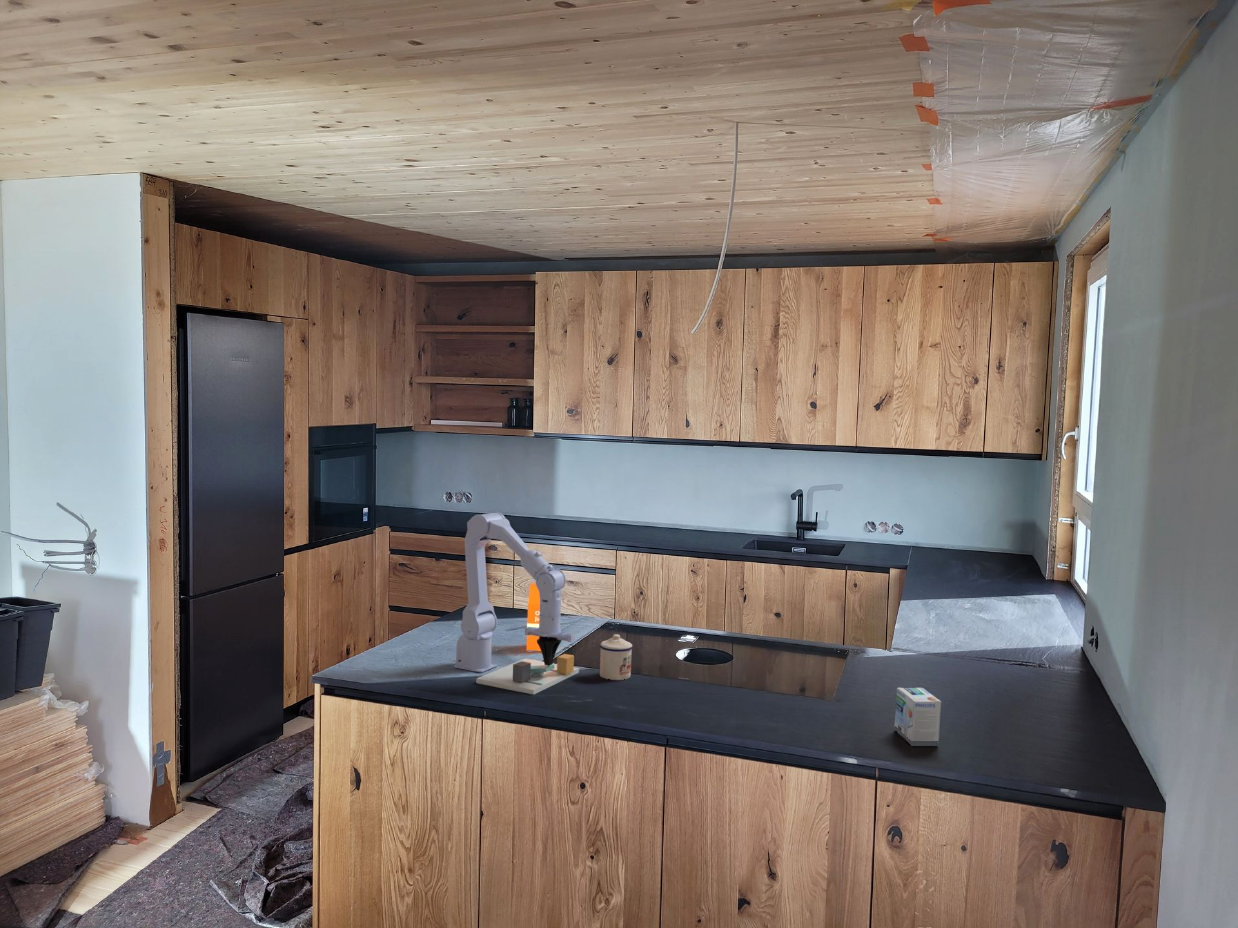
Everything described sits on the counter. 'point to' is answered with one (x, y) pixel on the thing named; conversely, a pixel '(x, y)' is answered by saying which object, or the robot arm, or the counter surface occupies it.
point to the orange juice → (533, 617)
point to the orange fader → (565, 664)
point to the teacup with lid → (615, 658)
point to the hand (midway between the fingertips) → (548, 664)
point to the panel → (531, 686)
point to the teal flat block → (541, 668)
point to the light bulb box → (917, 714)
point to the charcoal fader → (521, 671)
